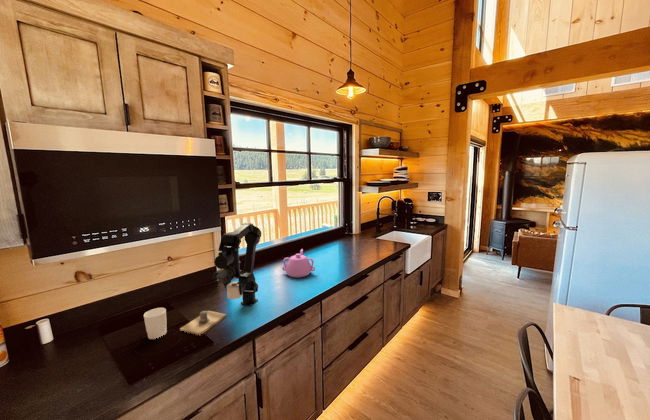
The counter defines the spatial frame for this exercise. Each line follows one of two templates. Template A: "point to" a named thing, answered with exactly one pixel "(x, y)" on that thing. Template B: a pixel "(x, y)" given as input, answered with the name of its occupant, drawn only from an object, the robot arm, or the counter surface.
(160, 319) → the white cup
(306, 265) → the teapot
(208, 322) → the stud block
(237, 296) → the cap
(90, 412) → the counter surface
